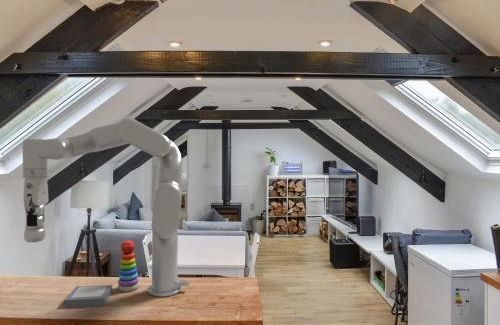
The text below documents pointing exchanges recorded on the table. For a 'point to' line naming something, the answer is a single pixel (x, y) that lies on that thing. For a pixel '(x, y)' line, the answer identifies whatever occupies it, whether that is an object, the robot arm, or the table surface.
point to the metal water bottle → (35, 227)
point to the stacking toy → (128, 268)
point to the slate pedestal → (88, 296)
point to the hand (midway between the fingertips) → (35, 223)
